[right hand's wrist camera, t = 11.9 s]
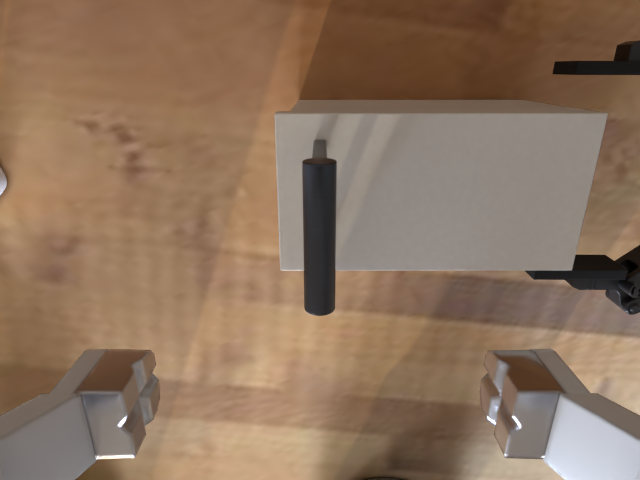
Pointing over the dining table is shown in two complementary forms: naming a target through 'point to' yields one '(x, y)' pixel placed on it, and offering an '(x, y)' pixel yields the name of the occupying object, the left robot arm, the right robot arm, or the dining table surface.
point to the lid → (431, 191)
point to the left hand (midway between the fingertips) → (543, 175)
